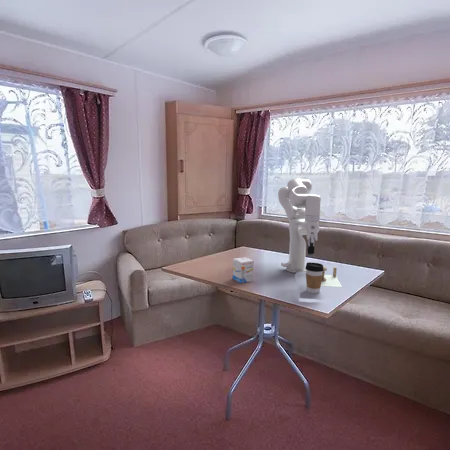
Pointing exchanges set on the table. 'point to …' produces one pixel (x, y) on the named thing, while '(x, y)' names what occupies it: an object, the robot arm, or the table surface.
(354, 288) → the table surface
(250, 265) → the ink box
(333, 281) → the base board
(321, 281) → the bobbin
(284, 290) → the table surface
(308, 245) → the peg
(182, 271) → the table surface
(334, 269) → the notched rail
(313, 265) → the coffee cup
